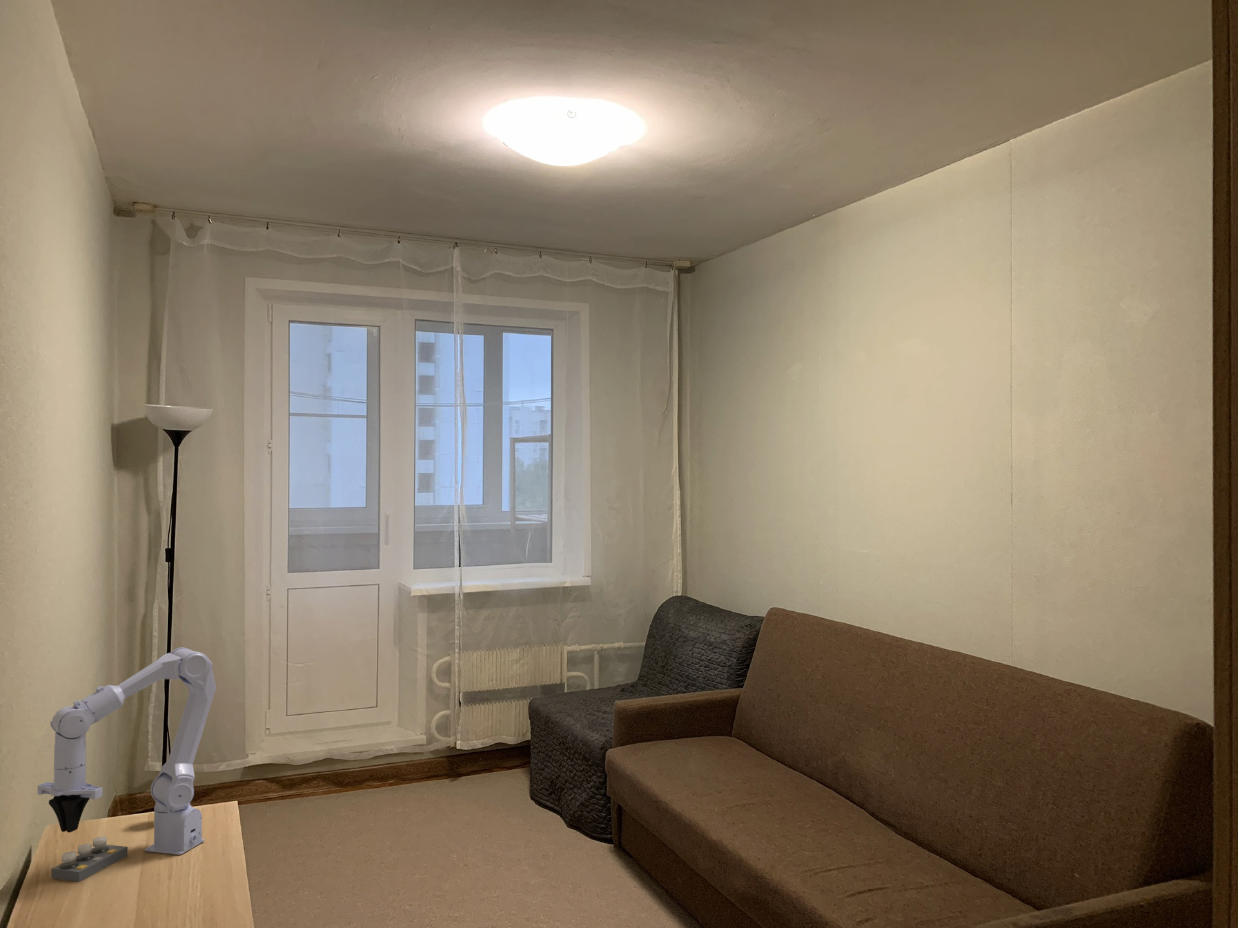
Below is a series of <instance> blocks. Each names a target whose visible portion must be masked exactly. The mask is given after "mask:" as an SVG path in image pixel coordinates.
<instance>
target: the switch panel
mask: <svg viewBox="0 0 1238 928" xmlns="http://www.w3.org/2000/svg"><path fill="white" fill-rule="evenodd" d="M128 848H129V847H128V846H124V845H115V844H107V843H106V844H105V845H103V846H100V847H92V851H91V852H90V853H87V854H78V855H77V859H76V860H74V861H71V862H62V863H61V864H58V865H56V866H55V867H52V868H51V869H50V871H51V872H50V874H51V875H50V879H51V878H53V879H52V880H61V881H68V882H76V883H77V882H78V883H80V882H81V881H83V880H86V879H87V878H89V877H91V876H93V875H95V874H96V873H98V872H100V871H101V870H104V869H106V868H108V867H110V866H111V865H113V864H115V863H117V862H118V861H121V860H123V859H124V858H126V857H128V855H129V854H128Z"/></svg>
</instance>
